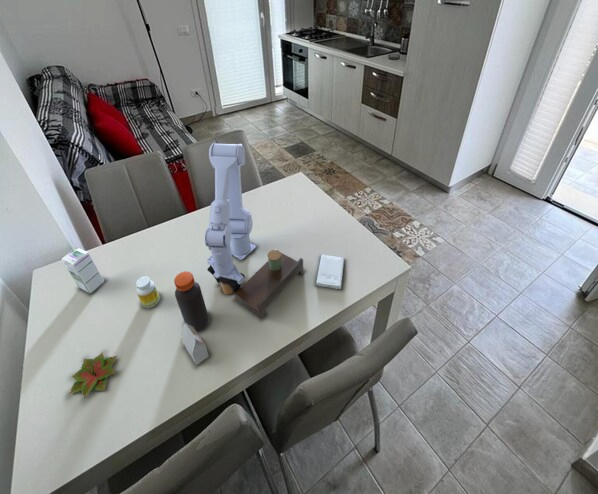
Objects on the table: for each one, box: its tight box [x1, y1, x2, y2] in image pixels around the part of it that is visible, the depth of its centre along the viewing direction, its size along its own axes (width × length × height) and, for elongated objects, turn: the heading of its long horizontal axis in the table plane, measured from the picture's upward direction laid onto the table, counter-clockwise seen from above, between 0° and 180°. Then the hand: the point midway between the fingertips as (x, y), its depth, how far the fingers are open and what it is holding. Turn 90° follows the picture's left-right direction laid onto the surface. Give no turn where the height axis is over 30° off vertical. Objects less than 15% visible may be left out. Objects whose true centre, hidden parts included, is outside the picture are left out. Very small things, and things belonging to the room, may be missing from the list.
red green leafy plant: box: [67, 351, 118, 400], centre depth 86 cm, size 12×12×5 cm
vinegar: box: [173, 271, 210, 332], centre depth 94 cm, size 7×7×20 cm
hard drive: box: [315, 254, 345, 290], centre depth 114 cm, size 2×8×12 cm
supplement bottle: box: [135, 276, 160, 309], centre depth 104 cm, size 5×5×10 cm
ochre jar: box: [220, 277, 234, 295], centre depth 108 cm, size 5×5×6 cm
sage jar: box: [267, 249, 282, 271], centre depth 111 cm, size 5×5×6 cm
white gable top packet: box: [180, 322, 210, 366], centre depth 90 cm, size 4×7×10 cm, turn 42°
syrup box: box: [61, 247, 105, 294], centre depth 108 cm, size 6×6×14 cm
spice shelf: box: [233, 252, 304, 319], centre depth 109 cm, size 11×22×6 cm, turn 144°
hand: (228, 286), depth 109 cm, fingers open, 7 cm apart
